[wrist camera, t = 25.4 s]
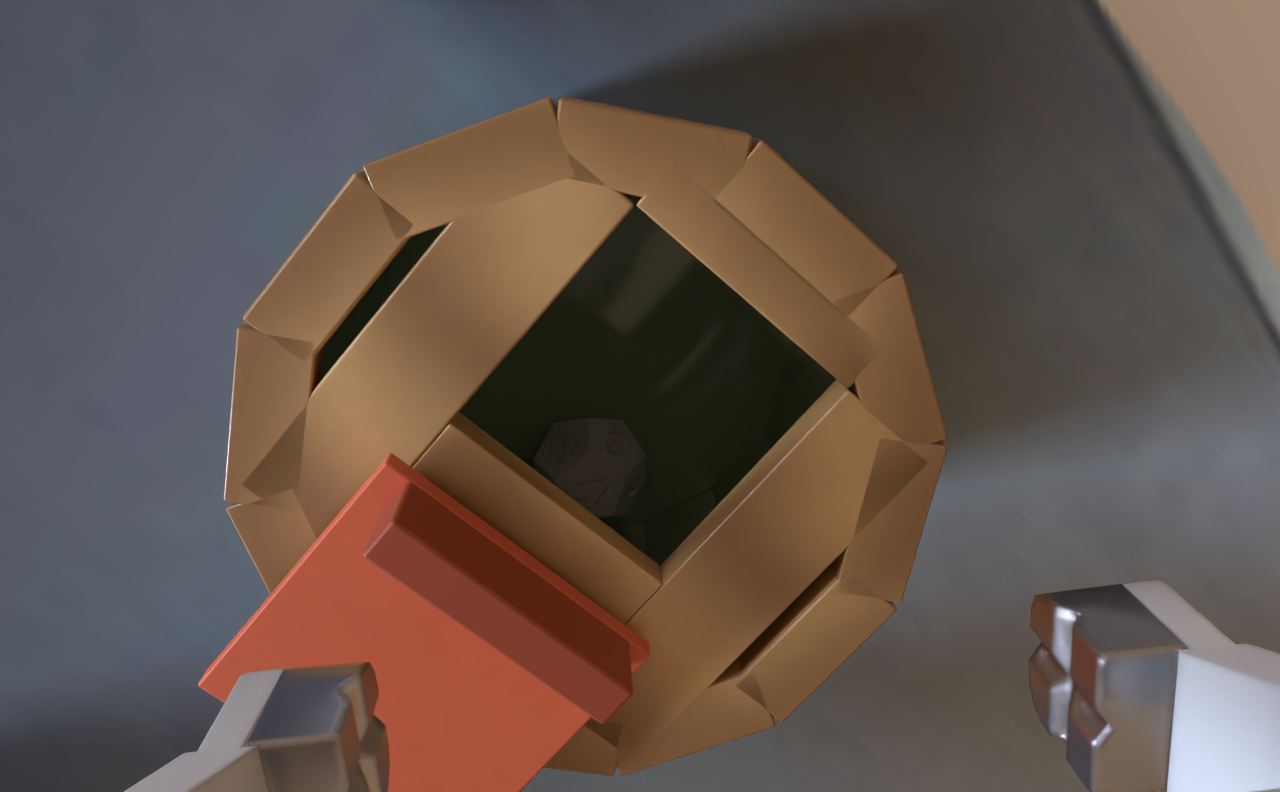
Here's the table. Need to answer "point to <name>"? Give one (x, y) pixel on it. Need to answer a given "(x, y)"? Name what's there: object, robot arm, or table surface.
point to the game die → (594, 464)
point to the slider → (442, 637)
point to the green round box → (640, 373)
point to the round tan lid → (525, 500)
